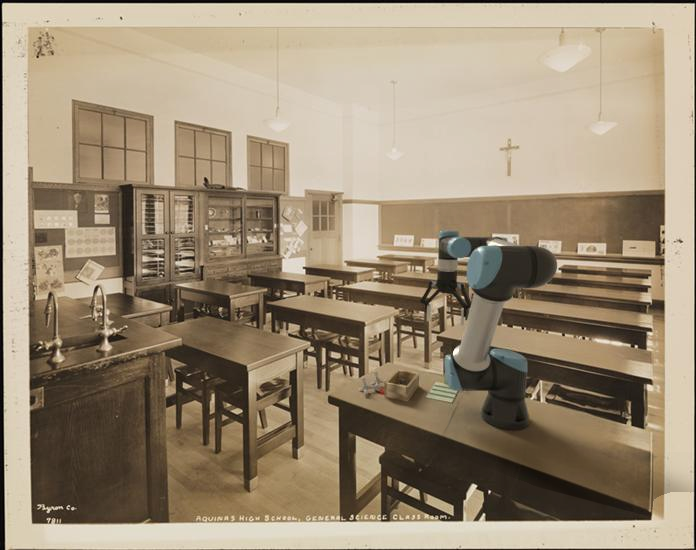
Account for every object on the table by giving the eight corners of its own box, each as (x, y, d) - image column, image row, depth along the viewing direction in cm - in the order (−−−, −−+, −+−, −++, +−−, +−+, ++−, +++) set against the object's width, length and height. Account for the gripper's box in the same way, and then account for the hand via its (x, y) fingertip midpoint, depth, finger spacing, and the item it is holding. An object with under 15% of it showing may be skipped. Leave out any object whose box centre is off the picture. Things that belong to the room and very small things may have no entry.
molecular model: (392, 397, 162) (373, 383, 167) (399, 381, 160) (379, 368, 165) (372, 408, 150) (352, 393, 156) (379, 391, 148) (358, 376, 154)
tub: (418, 387, 162) (419, 373, 161) (407, 403, 149) (408, 387, 148) (397, 383, 166) (397, 369, 165) (384, 398, 153) (384, 382, 152)
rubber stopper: (406, 386, 162) (406, 379, 162) (404, 388, 160) (405, 381, 159) (400, 385, 163) (401, 378, 163) (398, 387, 161) (399, 380, 160)
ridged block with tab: (462, 383, 167) (463, 371, 167) (451, 404, 148) (452, 391, 147) (439, 378, 171) (439, 367, 171) (425, 399, 152) (426, 386, 151)
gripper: (481, 271, 158) (479, 324, 160) (419, 267, 169) (417, 317, 172) (478, 273, 151) (475, 329, 154) (413, 268, 162) (412, 320, 165)
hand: (445, 322), depth 163 cm, fingers open, 13 cm apart
